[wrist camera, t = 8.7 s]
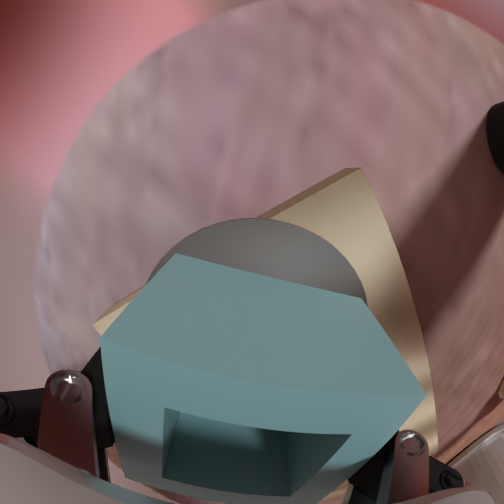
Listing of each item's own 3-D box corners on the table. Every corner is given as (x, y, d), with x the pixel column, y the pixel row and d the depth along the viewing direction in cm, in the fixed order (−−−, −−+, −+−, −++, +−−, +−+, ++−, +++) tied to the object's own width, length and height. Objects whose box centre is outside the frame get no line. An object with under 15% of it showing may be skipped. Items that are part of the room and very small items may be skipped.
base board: (431, 436, 17) (451, 479, 11) (303, 490, 19) (307, 534, 14) (334, 148, 11) (399, 130, 5) (99, 292, 13) (34, 351, 8)
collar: (361, 298, 9) (426, 394, 4) (300, 417, 11) (311, 506, 6) (175, 252, 9) (99, 337, 4) (159, 388, 11) (125, 477, 6)
